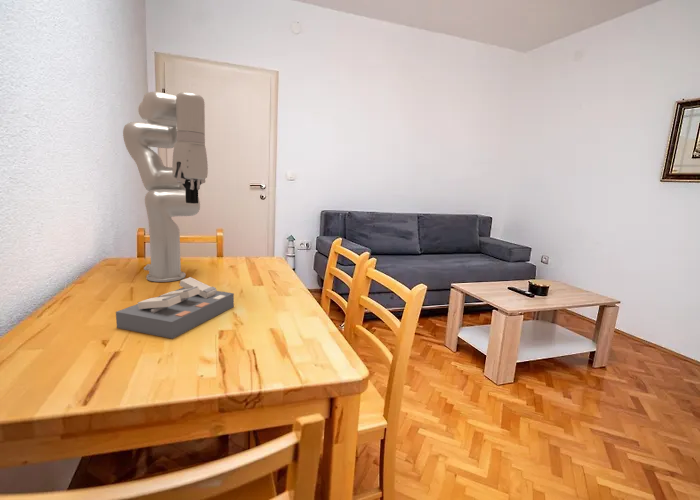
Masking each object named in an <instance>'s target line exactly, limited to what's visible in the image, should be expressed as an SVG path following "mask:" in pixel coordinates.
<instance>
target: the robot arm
mask: <svg viewBox="0 0 700 500" xmlns="http://www.w3.org/2000/svg"><path fill="white" fill-rule="evenodd" d="M205 104H206V103H205V99H204V97H203V96H202V95H200V94H197V93H192V92H178V93H177V94H176V95H175V94H171V93H168V92H167V93H165V92H162V91H161V92H160V91H150V92H149V91H148V92H146V93H145V94H144V96H143V99H142V101H141V102H140V103H139V105H138V107H137V108H138V114H139V116H140V118H141V119H142V120H143V121H131V122H127V123H126V124H125V125H124V127H123V130H122V134H123V135H122V136H123V141H124V144H125V148H126V150H127V152H128V154H129V156H130V157H131V158H132V159H133V161H134V162H135V163H134V164H135V165H136V166H137V170H138V173H139V176H140V179H141V182H142V185H143V186H144V188H145V190H147V192H146V194H145V196H144V205H145V209H146V210H145V211H146V213H147V219H148V220H147V221H148V229H149V233H148V234H149V249H150V250H149V251H150V253H149V254H150V263H148V264H146V265H145V266H144V267H143V270H144V271H148V273H147V275H146V280H147V281H150V282H155V283H163V282H164V283H168V282H169V283H170V282H175V281H181V280H183V279H186V273H185V272H184V271H182V270H181V269H182V266H181V265H182V264H181V263H182V262H181V241H180V239H181V236H180V235H181V234H180V228H179V226H178V224H177V223H176V222H175V221H174V220H173V218H174V217H192V216H195V215H197V214H199V212H200V209H201V201H200V198H199V190H200V188H201V185H203V184H205V183H206V179H207V178H208V176H209V175H208V173H209V170H208V169H209V168H208V166H209V165H208V157H207V150H206V149H207V148H206V134H205V133H206V123H205V121H206V119H205V118H206V117H205V116H206V115H205V107H206V106H205ZM144 121H145V122H144ZM152 148H156V149H157V148H159V149H173V150H172V151H173V152H172V163H171V164H172V165H171V166H172V167H171V166H169V167H168V166H165V165H164V163H163V160H162V158H161V156H160V155H158V153H157V152H155V150H153V149H152Z"/></svg>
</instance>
